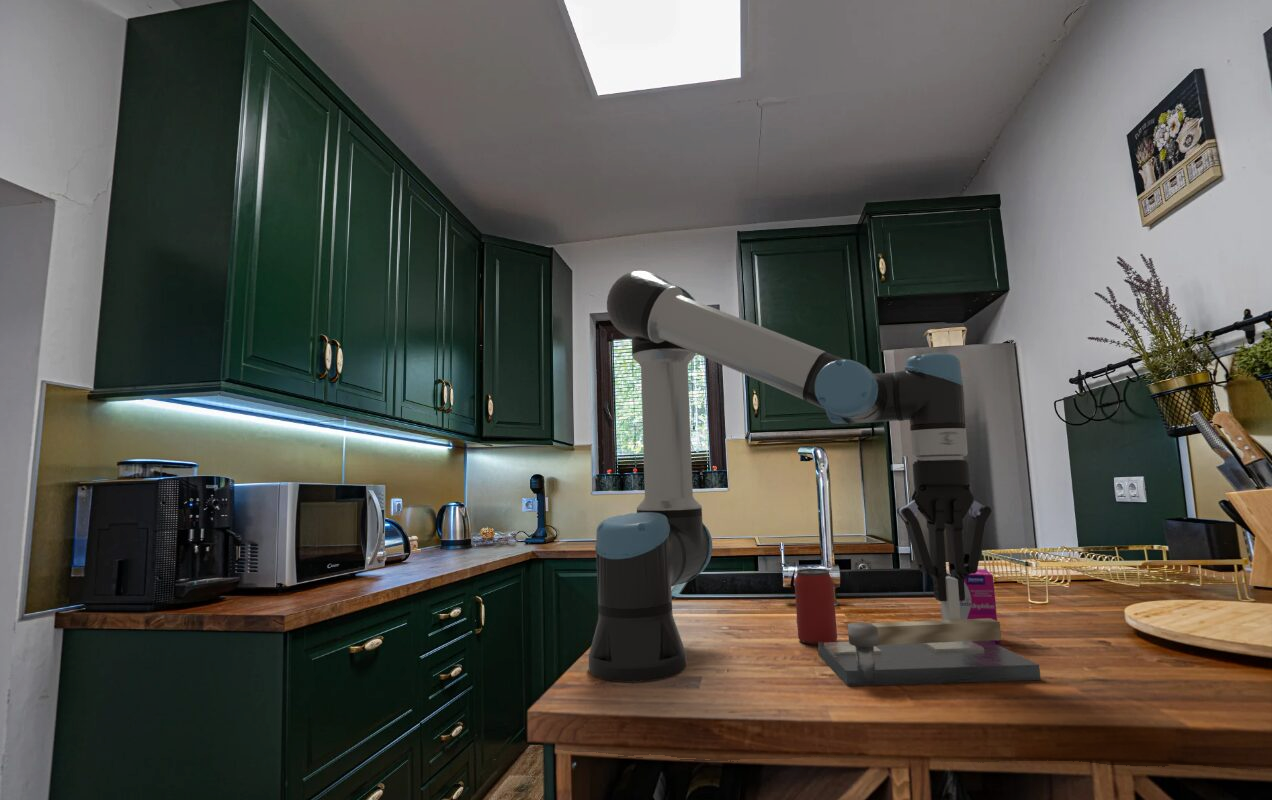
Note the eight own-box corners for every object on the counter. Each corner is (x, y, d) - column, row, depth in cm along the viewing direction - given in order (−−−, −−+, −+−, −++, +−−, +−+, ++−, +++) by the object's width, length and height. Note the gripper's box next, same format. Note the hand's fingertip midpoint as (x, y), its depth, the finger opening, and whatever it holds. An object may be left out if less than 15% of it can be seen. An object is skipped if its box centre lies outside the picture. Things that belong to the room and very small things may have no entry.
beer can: (790, 640, 117) (786, 570, 118) (820, 635, 119) (815, 567, 121) (815, 648, 111) (810, 574, 112) (845, 642, 114) (840, 570, 115)
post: (861, 686, 90) (858, 648, 91) (855, 680, 92) (853, 643, 93) (878, 685, 90) (875, 647, 91) (873, 680, 92) (870, 643, 93)
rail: (854, 647, 90) (853, 629, 90) (845, 640, 94) (843, 623, 94) (1004, 641, 90) (1002, 623, 90) (989, 634, 94) (987, 617, 94)
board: (847, 686, 90) (846, 667, 91) (818, 655, 106) (817, 639, 106) (1040, 680, 90) (1038, 661, 90) (982, 649, 106) (981, 634, 106)
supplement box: (961, 644, 109) (954, 573, 111) (955, 635, 115) (949, 568, 116) (1000, 645, 108) (993, 573, 109) (992, 636, 113) (985, 568, 115)
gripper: (904, 459, 94) (915, 631, 91) (997, 457, 94) (1011, 629, 91) (886, 460, 101) (896, 619, 99) (972, 458, 101) (984, 617, 98)
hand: (951, 624), depth 95 cm, fingers closed
